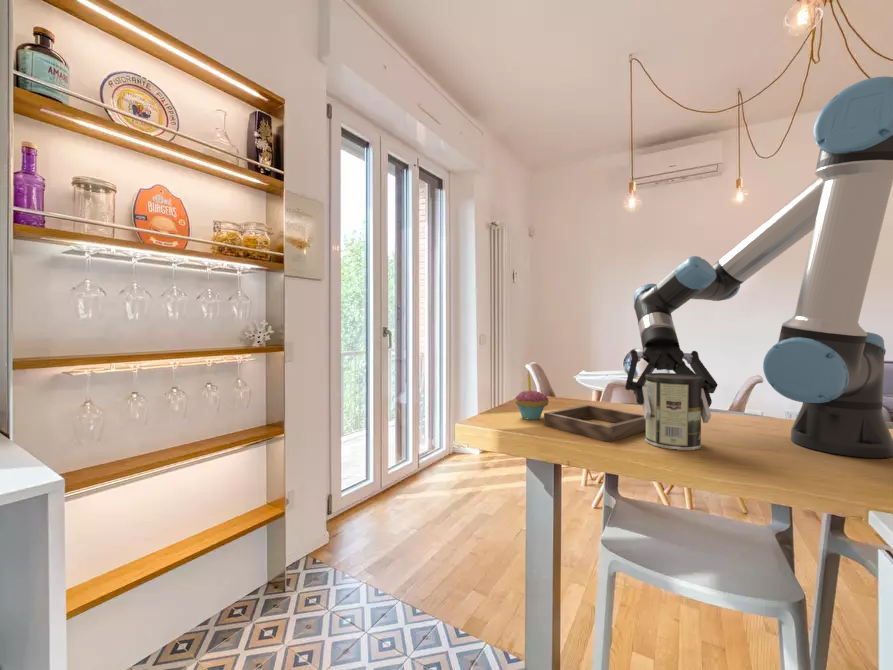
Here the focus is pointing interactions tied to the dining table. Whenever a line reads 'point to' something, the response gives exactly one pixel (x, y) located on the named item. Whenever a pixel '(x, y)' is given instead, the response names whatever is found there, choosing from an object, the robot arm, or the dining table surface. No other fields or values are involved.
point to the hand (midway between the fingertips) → (677, 417)
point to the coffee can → (674, 411)
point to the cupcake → (531, 402)
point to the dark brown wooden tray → (572, 423)
